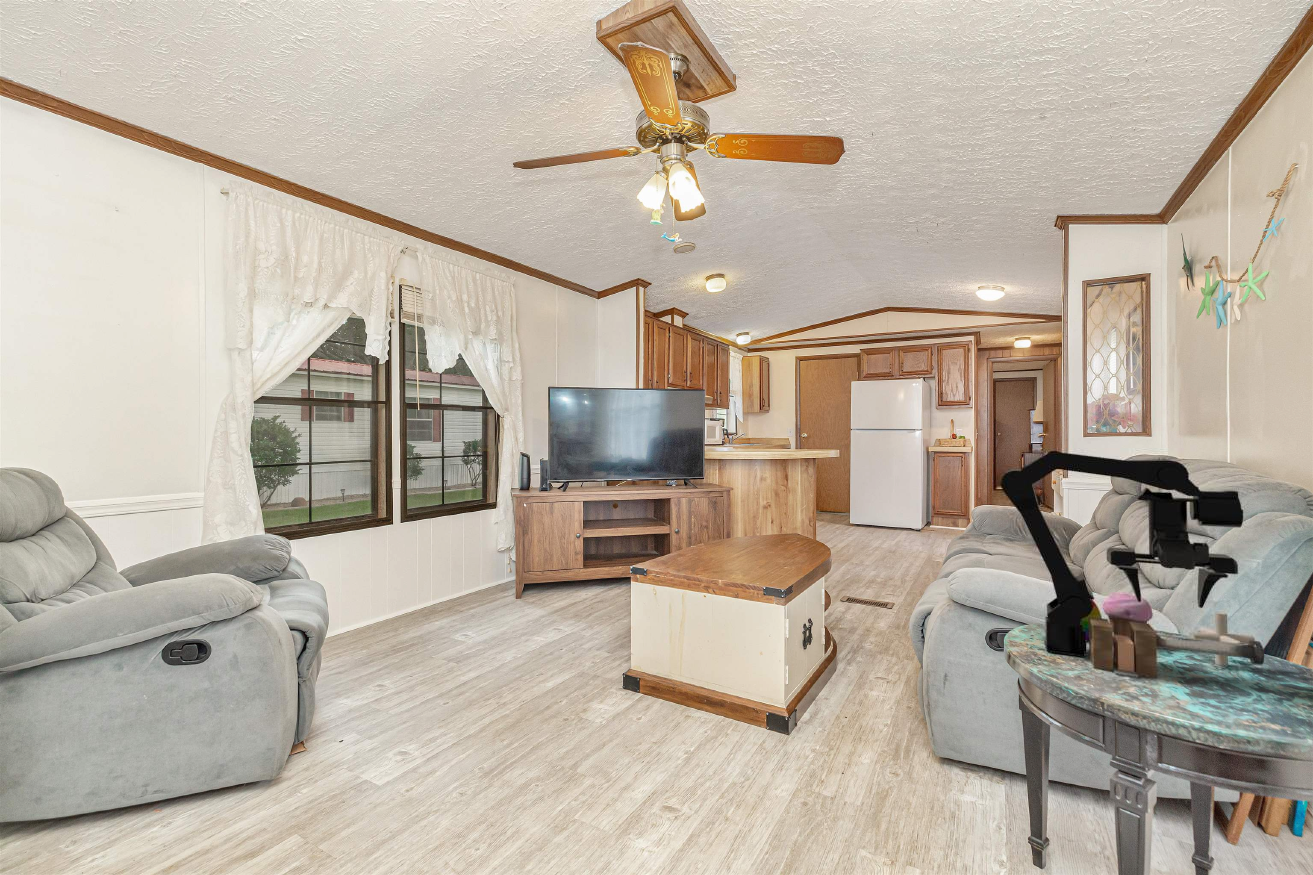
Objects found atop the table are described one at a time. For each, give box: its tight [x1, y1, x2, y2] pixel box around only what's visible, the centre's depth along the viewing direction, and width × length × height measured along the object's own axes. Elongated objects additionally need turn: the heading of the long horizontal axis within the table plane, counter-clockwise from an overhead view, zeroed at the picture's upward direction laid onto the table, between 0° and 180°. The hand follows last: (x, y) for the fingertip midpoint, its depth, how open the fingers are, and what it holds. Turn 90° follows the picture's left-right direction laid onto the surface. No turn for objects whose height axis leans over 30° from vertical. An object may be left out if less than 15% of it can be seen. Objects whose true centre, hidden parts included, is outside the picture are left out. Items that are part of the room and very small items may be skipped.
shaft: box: [1156, 633, 1265, 666], centre depth 110 cm, size 17×4×4 cm, turn 61°
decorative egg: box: [1081, 599, 1103, 642], centre depth 133 cm, size 8×8×10 cm
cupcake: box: [1102, 592, 1154, 638], centre depth 131 cm, size 9×9×10 cm
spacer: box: [1113, 634, 1134, 672], centre depth 115 cm, size 2×5×5 cm, turn 151°
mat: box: [1112, 660, 1139, 679], centre depth 115 cm, size 3×10×1 cm, turn 151°
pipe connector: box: [1188, 611, 1256, 667], centre depth 116 cm, size 10×10×10 cm
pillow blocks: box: [1088, 617, 1158, 678], centre depth 115 cm, size 10×6×8 cm, turn 61°
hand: (1169, 604), depth 115 cm, fingers open, 9 cm apart
